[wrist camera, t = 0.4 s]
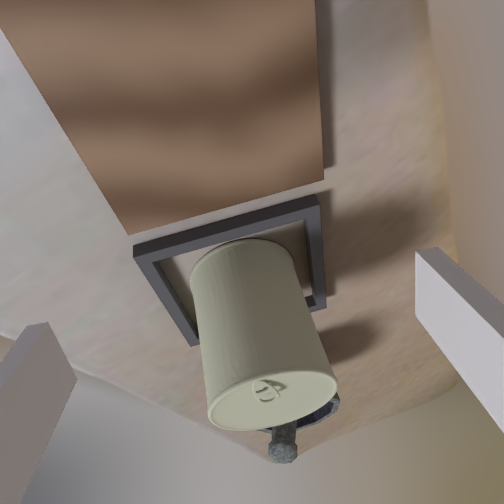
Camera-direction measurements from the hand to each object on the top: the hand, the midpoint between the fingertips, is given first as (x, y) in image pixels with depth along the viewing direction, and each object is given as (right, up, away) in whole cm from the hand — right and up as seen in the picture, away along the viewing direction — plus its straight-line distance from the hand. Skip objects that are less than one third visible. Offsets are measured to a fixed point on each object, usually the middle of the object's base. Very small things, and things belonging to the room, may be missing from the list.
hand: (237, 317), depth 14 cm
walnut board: (-3, +11, +8) cm, 14 cm away
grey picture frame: (0, 0, +20) cm, 20 cm away
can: (0, 0, +20) cm, 20 cm away
